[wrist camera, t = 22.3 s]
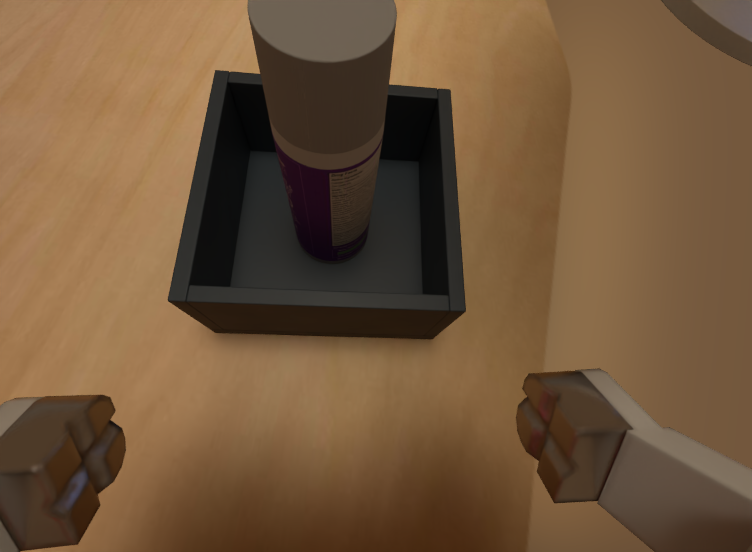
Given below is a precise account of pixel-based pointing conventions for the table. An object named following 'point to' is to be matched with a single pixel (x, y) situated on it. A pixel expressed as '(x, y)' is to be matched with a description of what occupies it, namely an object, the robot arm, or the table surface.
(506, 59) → the table surface
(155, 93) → the table surface
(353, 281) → the tub
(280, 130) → the container
